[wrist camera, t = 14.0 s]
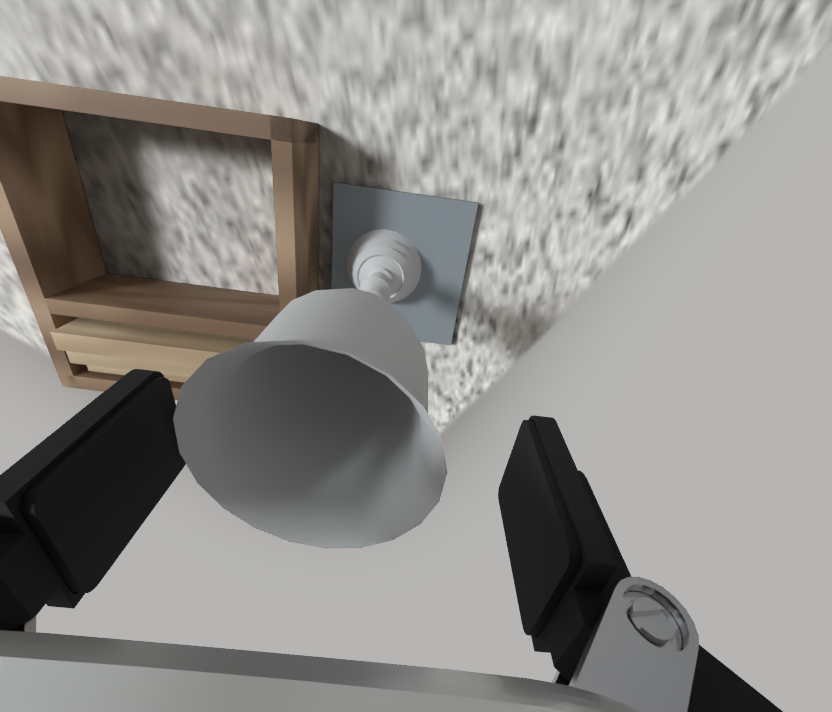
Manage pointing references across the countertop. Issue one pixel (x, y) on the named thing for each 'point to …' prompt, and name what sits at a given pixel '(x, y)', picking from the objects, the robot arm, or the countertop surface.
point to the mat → (433, 239)
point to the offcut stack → (139, 347)
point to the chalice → (323, 413)
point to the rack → (76, 238)
